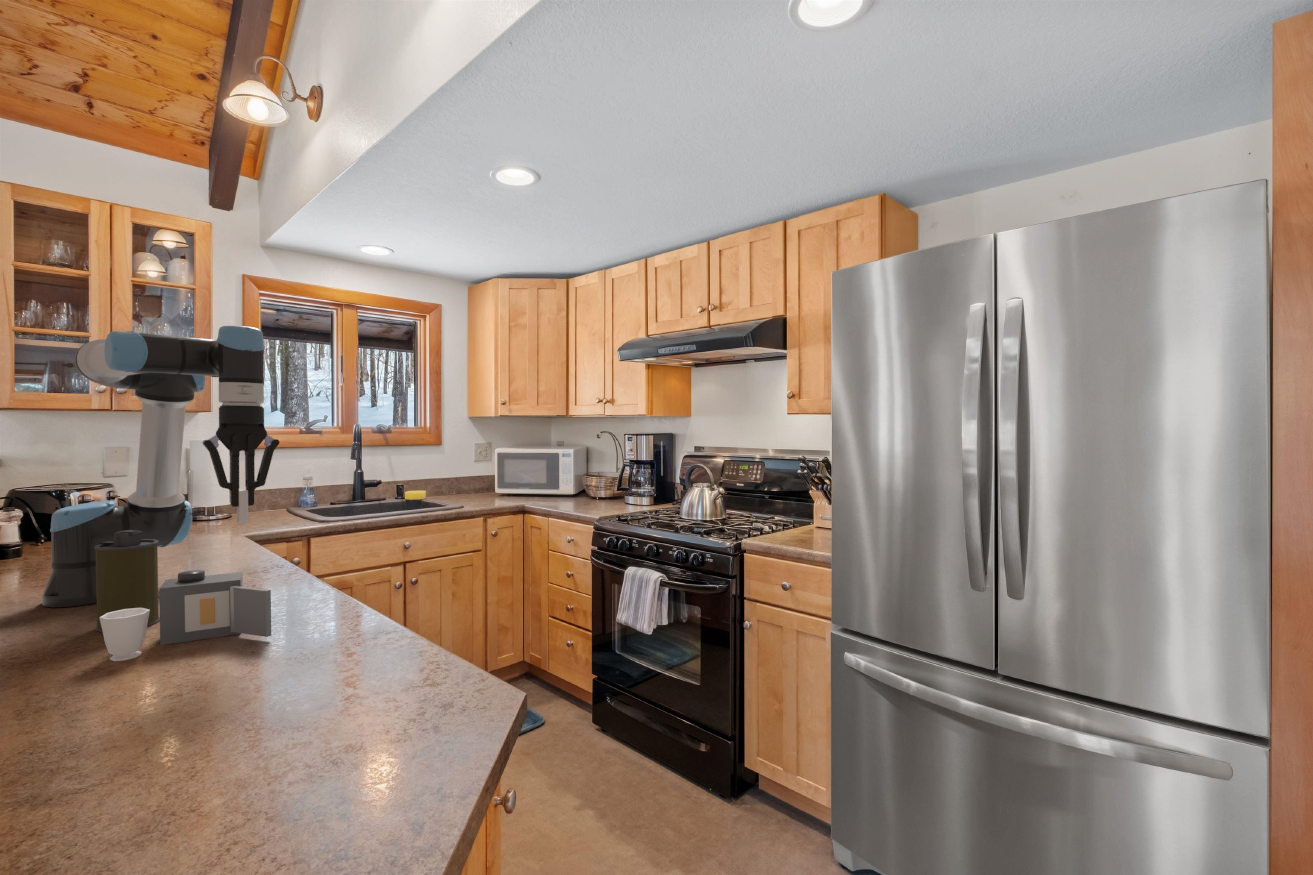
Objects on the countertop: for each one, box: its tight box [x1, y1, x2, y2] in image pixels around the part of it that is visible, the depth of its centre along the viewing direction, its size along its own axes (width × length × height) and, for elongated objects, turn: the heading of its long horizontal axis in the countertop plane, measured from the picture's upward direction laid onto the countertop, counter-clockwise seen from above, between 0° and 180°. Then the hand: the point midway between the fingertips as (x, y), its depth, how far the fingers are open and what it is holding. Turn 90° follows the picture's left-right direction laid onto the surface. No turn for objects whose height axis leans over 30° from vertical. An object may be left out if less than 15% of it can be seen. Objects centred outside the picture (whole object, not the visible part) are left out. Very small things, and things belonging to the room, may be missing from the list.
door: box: [230, 586, 272, 638], centre depth 123 cm, size 2×10×9 cm, turn 71°
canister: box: [94, 530, 160, 633], centre depth 132 cm, size 11×10×20 cm
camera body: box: [158, 569, 244, 646], centre depth 126 cm, size 8×13×12 cm, turn 121°
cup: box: [99, 608, 150, 662], centre depth 115 cm, size 7×10×8 cm
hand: (242, 522), depth 125 cm, fingers closed
